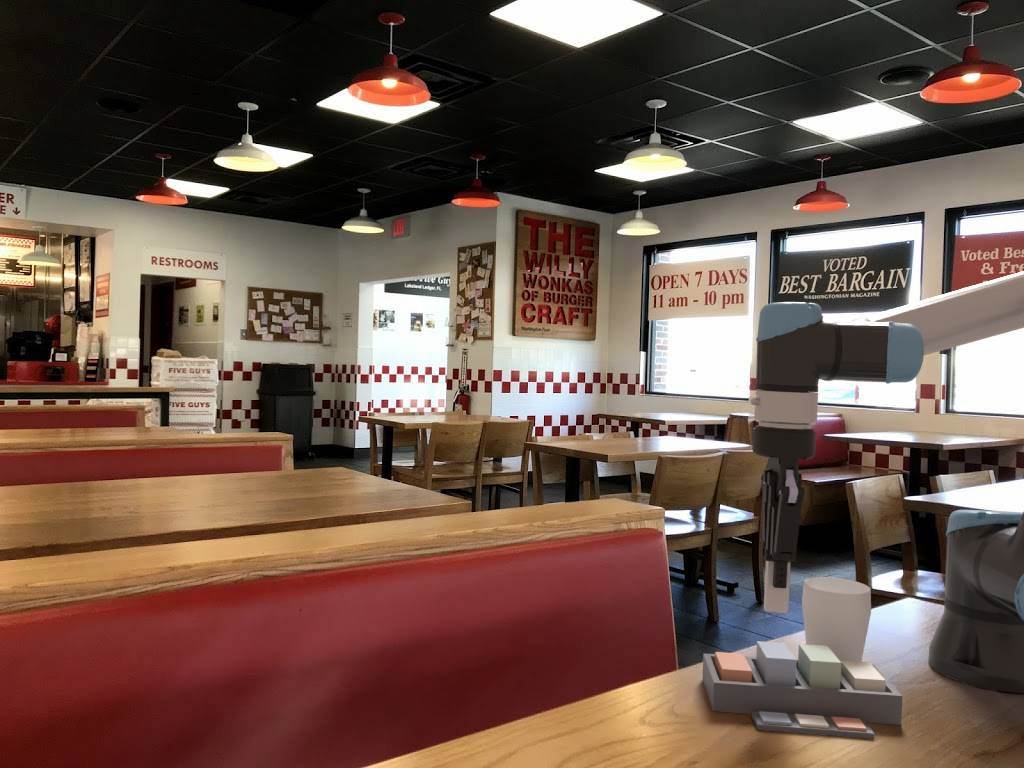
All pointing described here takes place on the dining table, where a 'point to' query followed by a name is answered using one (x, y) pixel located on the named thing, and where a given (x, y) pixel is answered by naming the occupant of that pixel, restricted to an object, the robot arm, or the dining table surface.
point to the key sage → (819, 666)
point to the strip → (812, 724)
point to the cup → (837, 615)
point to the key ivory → (862, 676)
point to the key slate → (776, 663)
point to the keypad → (800, 697)
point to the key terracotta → (732, 667)
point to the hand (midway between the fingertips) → (775, 610)
